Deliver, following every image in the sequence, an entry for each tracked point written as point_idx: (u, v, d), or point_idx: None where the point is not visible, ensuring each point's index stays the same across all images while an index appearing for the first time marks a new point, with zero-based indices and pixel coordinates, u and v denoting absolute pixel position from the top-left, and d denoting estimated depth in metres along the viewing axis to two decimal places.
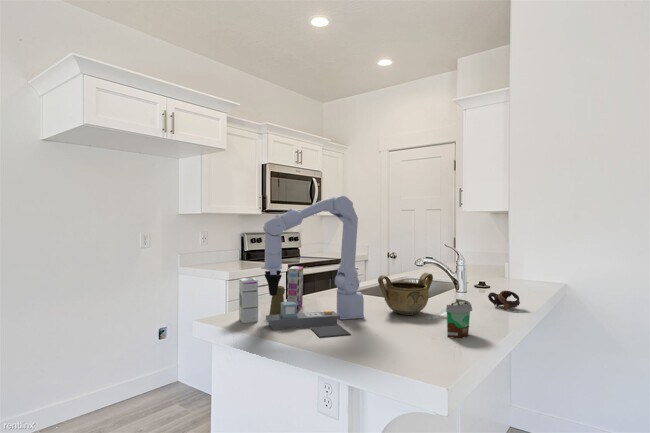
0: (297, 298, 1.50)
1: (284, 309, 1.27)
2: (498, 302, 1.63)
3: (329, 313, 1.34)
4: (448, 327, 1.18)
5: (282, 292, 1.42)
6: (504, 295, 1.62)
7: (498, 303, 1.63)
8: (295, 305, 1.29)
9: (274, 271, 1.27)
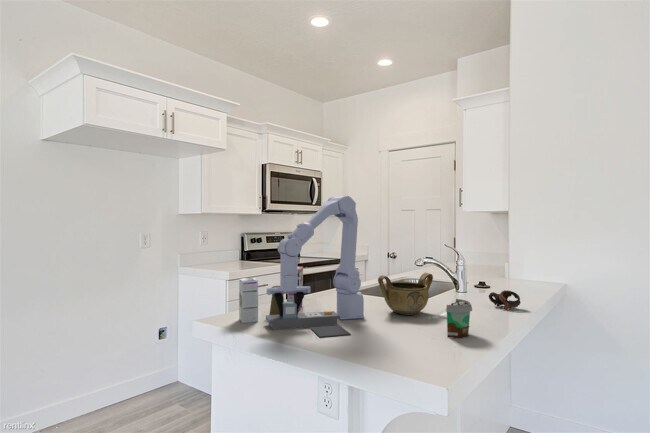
0: None
1: (284, 309, 1.27)
2: (499, 302, 1.63)
3: (329, 313, 1.34)
4: (448, 327, 1.18)
5: None
6: (505, 295, 1.63)
7: (499, 303, 1.64)
8: (295, 305, 1.29)
9: (267, 291, 1.28)
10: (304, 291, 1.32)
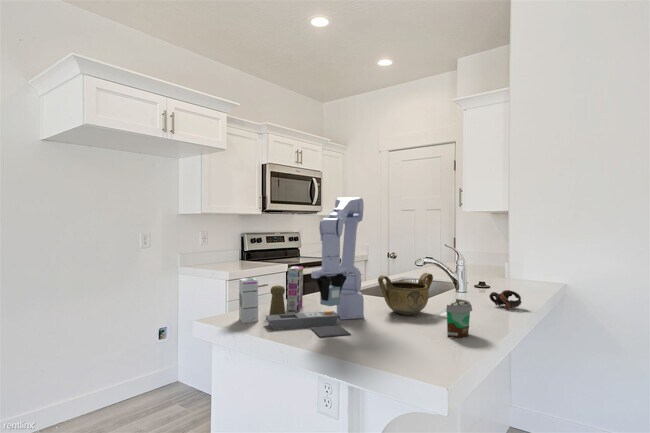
0: (297, 298, 1.50)
1: (330, 293, 1.20)
2: (499, 302, 1.64)
3: (329, 313, 1.34)
4: (448, 327, 1.18)
5: (282, 292, 1.42)
6: (505, 295, 1.63)
7: (499, 303, 1.64)
8: (339, 288, 1.23)
9: (314, 274, 1.18)
10: (343, 273, 1.27)
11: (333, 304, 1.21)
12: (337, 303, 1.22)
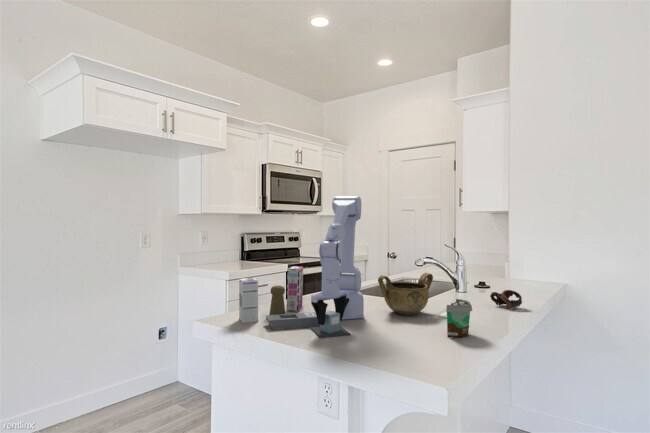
0: (297, 298, 1.50)
1: (330, 320, 1.20)
2: (500, 301, 1.64)
3: None
4: (448, 327, 1.18)
5: (282, 292, 1.42)
6: (506, 294, 1.64)
7: (500, 302, 1.65)
8: (339, 314, 1.23)
9: (313, 298, 1.18)
10: (343, 295, 1.26)
11: (333, 331, 1.21)
12: (337, 329, 1.22)
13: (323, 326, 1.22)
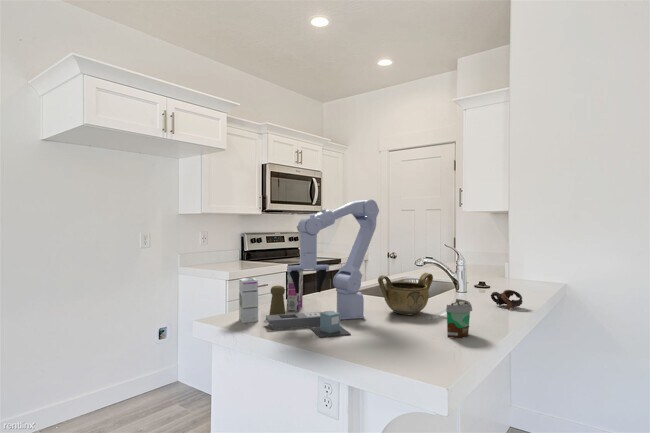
0: (297, 298, 1.50)
1: (330, 320, 1.20)
2: (500, 301, 1.65)
3: None
4: (448, 327, 1.18)
5: (282, 292, 1.42)
6: (506, 294, 1.64)
7: (500, 302, 1.65)
8: (339, 314, 1.23)
9: (287, 268, 1.31)
10: (323, 269, 1.35)
11: (333, 331, 1.21)
12: (337, 329, 1.22)
13: (323, 326, 1.22)
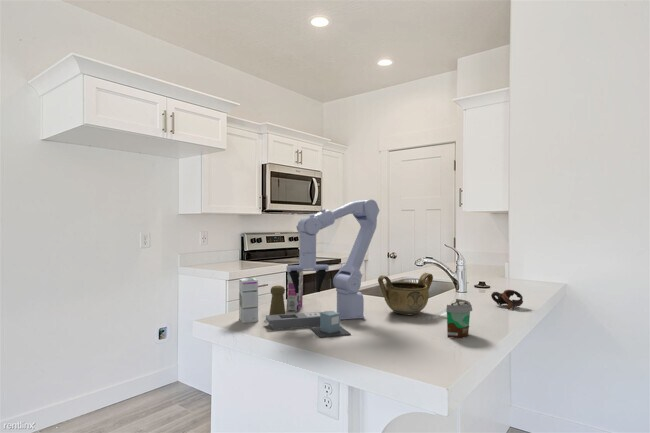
0: (297, 298, 1.50)
1: (330, 320, 1.20)
2: (501, 301, 1.65)
3: None
4: (448, 327, 1.18)
5: (282, 292, 1.42)
6: (507, 294, 1.64)
7: (501, 302, 1.65)
8: (339, 314, 1.23)
9: (287, 268, 1.32)
10: (322, 269, 1.36)
11: (333, 331, 1.21)
12: (337, 329, 1.22)
13: (323, 326, 1.22)
